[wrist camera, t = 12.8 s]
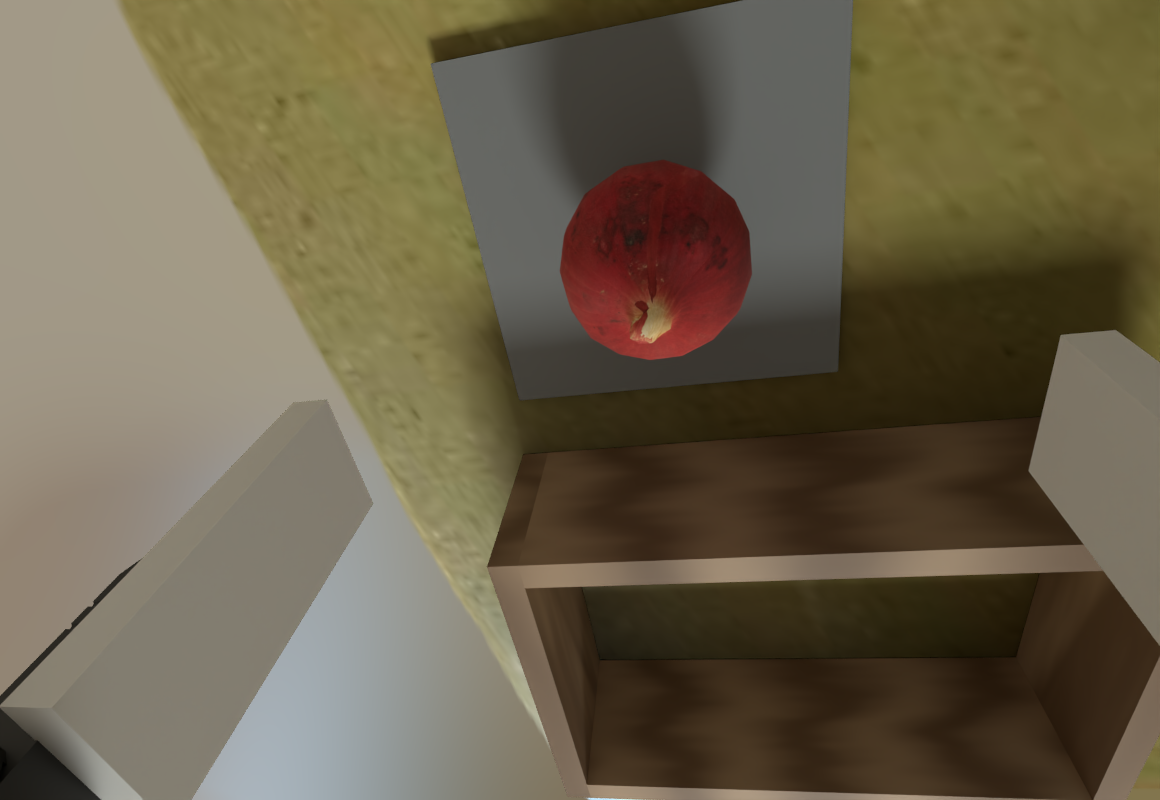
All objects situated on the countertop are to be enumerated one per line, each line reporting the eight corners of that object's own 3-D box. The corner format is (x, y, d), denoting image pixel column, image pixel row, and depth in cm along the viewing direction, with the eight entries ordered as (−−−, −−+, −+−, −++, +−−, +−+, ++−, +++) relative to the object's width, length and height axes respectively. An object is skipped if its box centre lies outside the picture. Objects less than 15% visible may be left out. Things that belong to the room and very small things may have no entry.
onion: (559, 159, 22) (511, 230, 15) (731, 123, 20) (762, 182, 14) (594, 313, 24) (566, 430, 18) (745, 290, 23) (777, 406, 16)
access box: (1119, 411, 25) (1260, 538, 19) (1037, 671, 33) (1117, 816, 27) (523, 454, 29) (487, 567, 23) (583, 673, 38) (567, 796, 32)
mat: (848, -22, 18) (853, -22, 18) (834, 364, 25) (838, 371, 25) (436, 62, 21) (430, 63, 20) (522, 393, 28) (519, 400, 27)
